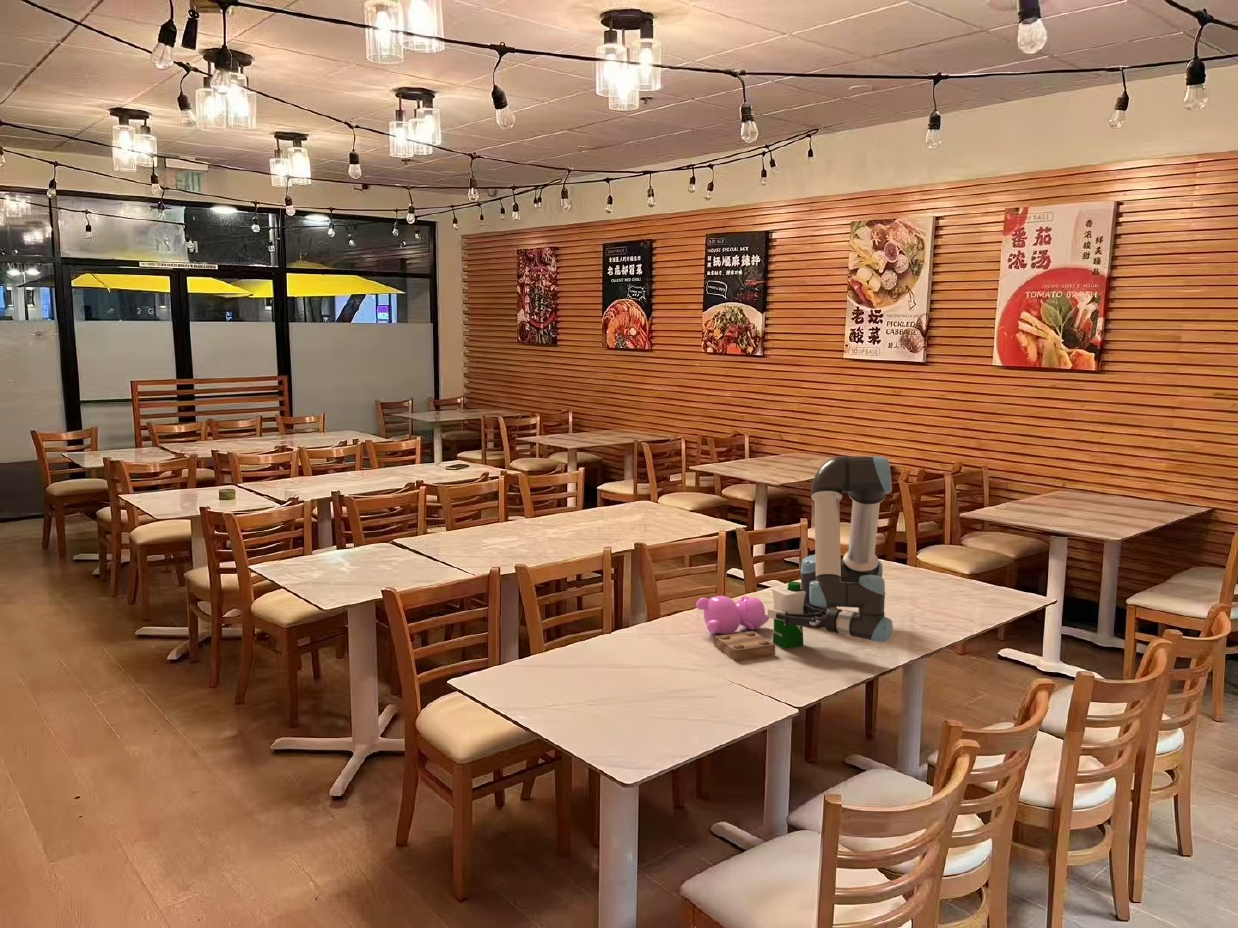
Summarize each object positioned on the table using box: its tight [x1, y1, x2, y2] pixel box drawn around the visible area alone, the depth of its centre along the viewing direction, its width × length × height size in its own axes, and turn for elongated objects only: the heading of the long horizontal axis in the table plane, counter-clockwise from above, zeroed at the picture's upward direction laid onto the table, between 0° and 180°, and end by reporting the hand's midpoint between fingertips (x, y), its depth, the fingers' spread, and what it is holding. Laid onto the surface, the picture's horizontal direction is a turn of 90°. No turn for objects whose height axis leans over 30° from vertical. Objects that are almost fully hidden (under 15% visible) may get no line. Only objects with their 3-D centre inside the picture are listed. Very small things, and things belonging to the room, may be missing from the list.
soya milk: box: [771, 581, 806, 650], centre depth 289 cm, size 9×9×20 cm
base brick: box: [713, 630, 776, 662], centre depth 285 cm, size 14×14×4 cm
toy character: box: [695, 595, 770, 635], centre depth 304 cm, size 16×13×25 cm
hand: (776, 609), depth 292 cm, fingers open, 10 cm apart
